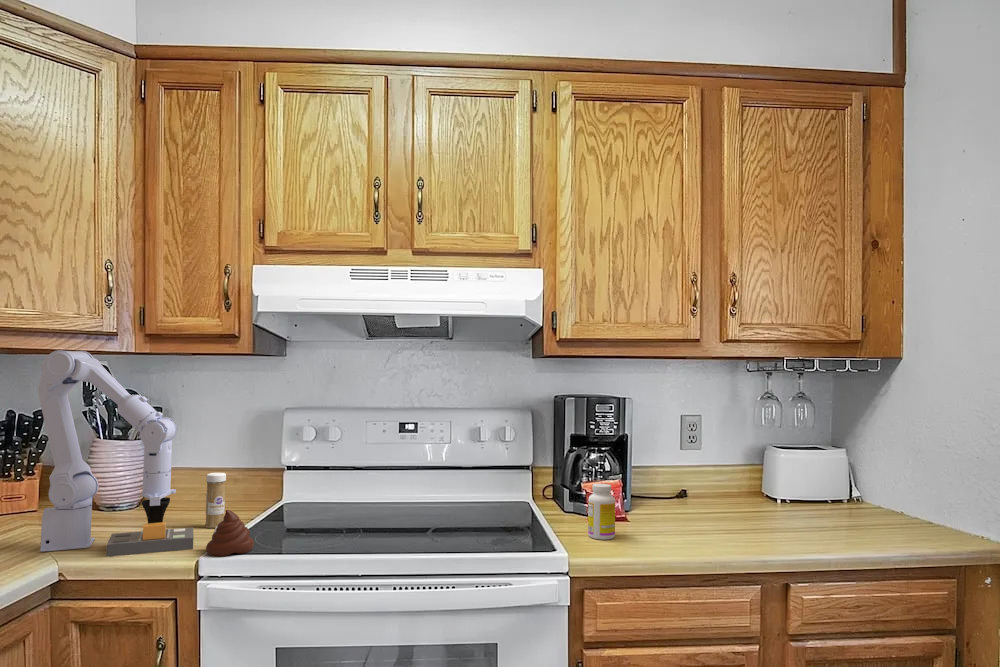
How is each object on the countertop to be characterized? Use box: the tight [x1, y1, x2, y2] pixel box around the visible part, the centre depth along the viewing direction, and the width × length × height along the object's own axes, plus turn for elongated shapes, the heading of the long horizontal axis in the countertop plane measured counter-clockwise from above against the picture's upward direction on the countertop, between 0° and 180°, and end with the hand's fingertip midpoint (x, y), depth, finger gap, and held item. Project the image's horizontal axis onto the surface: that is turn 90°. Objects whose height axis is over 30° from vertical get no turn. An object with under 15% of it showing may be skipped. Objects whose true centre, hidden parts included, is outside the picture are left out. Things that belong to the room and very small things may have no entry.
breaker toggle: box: [142, 521, 167, 540], centre depth 153 cm, size 4×3×3 cm
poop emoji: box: [205, 509, 255, 557], centre depth 153 cm, size 10×8×9 cm
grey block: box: [105, 527, 194, 557], centre depth 155 cm, size 17×10×3 cm, turn 114°
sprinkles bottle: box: [204, 472, 227, 529], centre depth 174 cm, size 5×5×14 cm
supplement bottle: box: [587, 483, 616, 541], centre depth 171 cm, size 7×7×13 cm
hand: (155, 531), depth 156 cm, fingers closed
